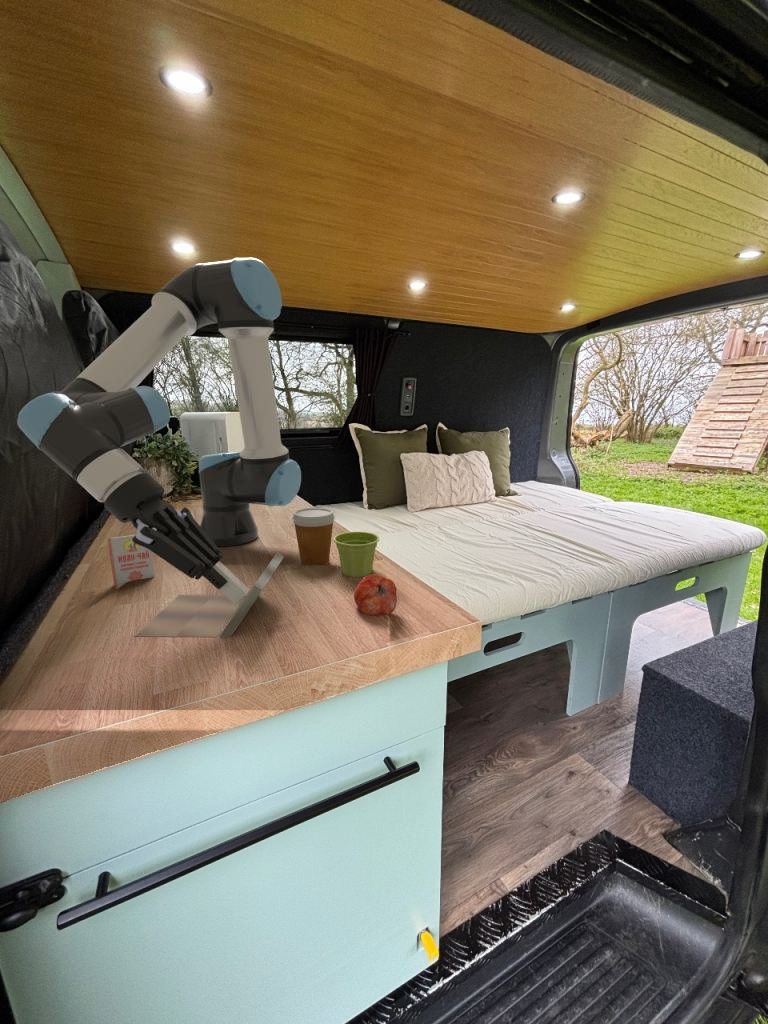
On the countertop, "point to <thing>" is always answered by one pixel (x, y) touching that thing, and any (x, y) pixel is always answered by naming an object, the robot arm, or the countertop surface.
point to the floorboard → (192, 617)
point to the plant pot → (356, 552)
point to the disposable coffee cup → (314, 534)
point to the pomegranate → (375, 595)
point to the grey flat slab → (252, 596)
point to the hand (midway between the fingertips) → (242, 596)
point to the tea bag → (129, 560)
